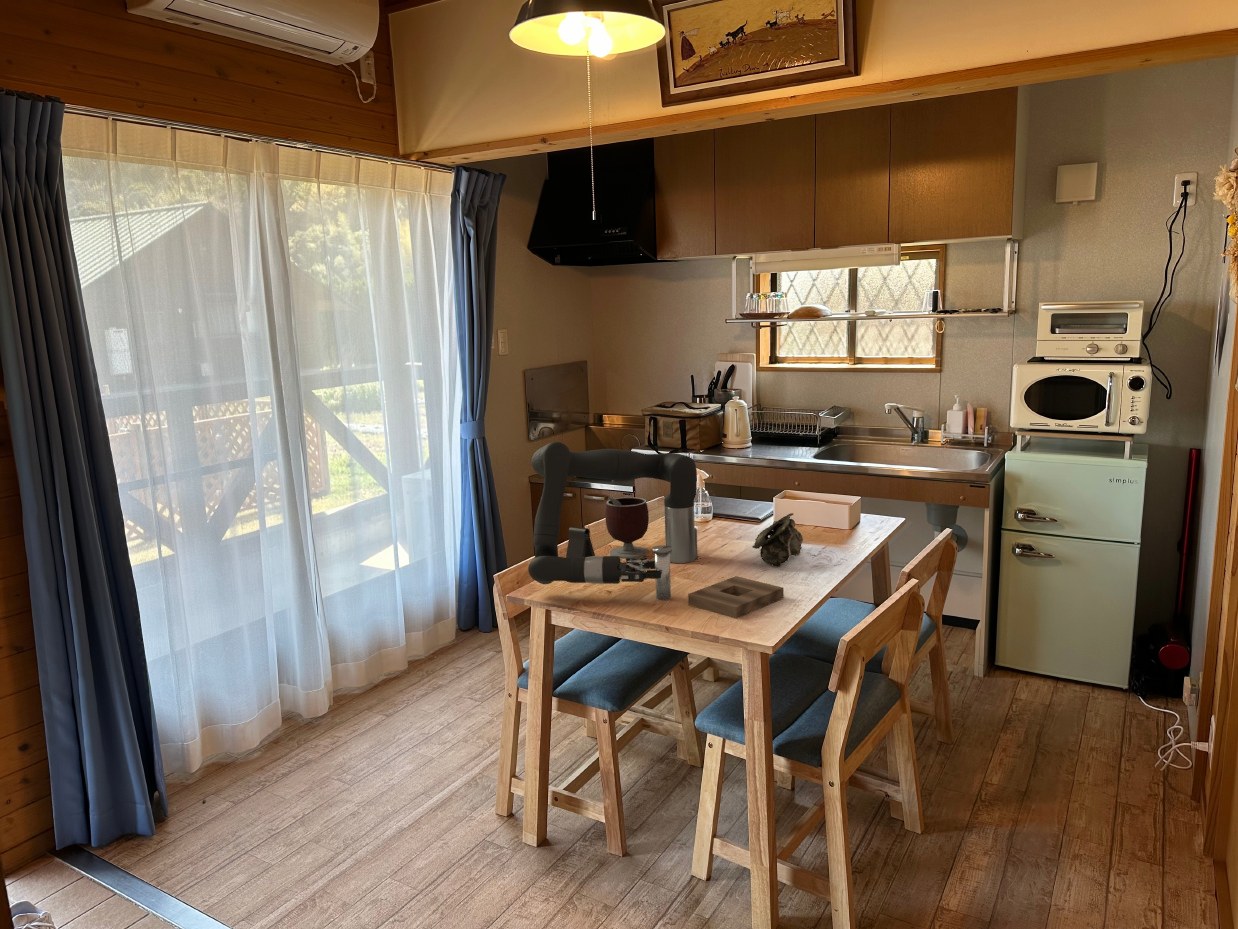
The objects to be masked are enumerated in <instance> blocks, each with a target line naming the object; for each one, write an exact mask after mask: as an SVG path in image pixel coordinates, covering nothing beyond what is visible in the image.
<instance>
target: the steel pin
mask: <svg viewBox="0 0 1238 929" xmlns="http://www.w3.org/2000/svg"><path fill="white" fill-rule="evenodd" d="M651 549H652V553H653V554H654V561H655V569H654V570H661V578H660V579H655V596H656V597H655V599H656V600H659V601H667V600H671V598H672V589H671V588H672V586H671V562H670V553H671V552H672V547H671V546H666V544H664V545H659V544H658V545H655V546H653V547H652V548H651Z"/></svg>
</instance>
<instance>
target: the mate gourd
mask: <svg viewBox="0 0 1238 929" xmlns="http://www.w3.org/2000/svg"><path fill="white" fill-rule="evenodd" d="M607 499H608V500H607V501H606V505H605V511H604V512H605V516H604V517H605V525H606V530H607V532H608V534H609V535H610V536H611V537H612V539H614V540H615V541H618V542H621V543H623V545H622V546H619V547H615V548H611V549H610V550H609V556H619V557H620V559H627V558H643V557H644V556H646V555H647V554H648V549H647V548H645V547H642V546H637V545H635V546H634V544H633V543H634V542H635V541H638V540H640V539H642V538H643V537H644V535H645V534H646V532H648V529H649V522H650V519H649V518H650V517H649V516H650V515H649V508H648V507H649V506H648V504H647V500H646V499H645V498H642V497H636V496H635V497H634V496H633V497H631V496H628V497H627V496H626V497H625V496H624V497H616V498H613V497H607Z"/></svg>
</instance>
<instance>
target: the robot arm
mask: <svg viewBox="0 0 1238 929" xmlns="http://www.w3.org/2000/svg"><path fill="white" fill-rule="evenodd" d="M531 467H532V469H533V471H534V472H535V473H536V474H537V475H539V476H541V477H542V478H544V480H543V489H542V494H541V497H540V500H539V504H538V507H537V510H536V515H535V518H534V527H533V536H532V538H533V539H532V542H533V547H534V558H532V560H531V561H530V562H529V563H528V566H527V568H528V569H527V571H528V574H529V576H530V578H532V580H533V581H536V582H537V583H539V584H541V585H549V584H552V583H553V582H565V583H566V582H567V583H572V584H593V585H594V584H597V585H598V584H599V585H601V584H603V585H604V584H605V585H607V584H609V585H612V584H613V585H615V584H616V585H617V584H620V583H621V582H622V583H624V582H627V583H628V582H629V583H630V582H631V583H642V582H644V581H645V580H647V579H650V580H651V579H653V580H654V579H655V580H656V579H660V578H661V570H655V560H650V559H648V557H637V558H625V561H623V562H622V561H621V558H620V557H619V556H611V555H595V556H591V557H571V558H566V556H565V557H564V556H559V547H558V546H559V539H560V538H559V537H560V528H561V526H560V525H561V515H562V514H561V513H562V506H563V500H564V495H565V490H566V489H565V488H566V484H567V480H568V477H577V478H578V477H579V478H586V479H595V480H607V481H633V480H637V479H641V478H645V479H647V478H648V479H653V480H654V479H655V480H660V481H665V482H668V483H670V486H669V488H670V490H669V493H668V494H667V495H665V496H664V498H663V504H664V506H663V507H664V509H663V510H664V533H665V534H664V535H665V536H664V537H665V538H664V539H665V540H664V541H665V542H664V543H665V545H666V546H671V547H672V552H671V553H670V563H673V564H685V563H691V562H694V561H695V560H696V558H697V559H698V556H699V555H698V529H697V527H696V526H695V524H696V523H695V522H696V521H695V499H696V497H697V488H698V487H697V486H698V485H697V483H698V480H697V479H698V470H697V465H696V461H694V459H693V458H692V457H690V456H688V455H684V454H680V453H677V452H676V453H675V452H668V453H666V452H665V453H643V452H638V451H633V450H628V449H616V448H602V449H601V448H600V449H599V448H598V449H593V450H592V449H591V450H584V451H571V450H570V448H569V447H568V446H567V444H565V443H563V442H561V441H552V442H548V443H547V444H545V445H543V446H542V447H540V448H538V449H537V450H536V451H535V452H534V453H533V454H532V457H531Z"/></svg>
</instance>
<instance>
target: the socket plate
mask: <svg viewBox="0 0 1238 929" xmlns="http://www.w3.org/2000/svg"><path fill="white" fill-rule="evenodd" d="M784 594H785V593H784V587H783V586H778V585H774V584H771V583H765V582H762V581H757V580H753V579H751V578H750V579H749V578H745V577H743V576H742V577H741V576H737V575H735V576H731V577H730V578H728V579H724V580H721V581H719V582H716V583H713V584H711V585H708V586H706V587H703V588H701V589H698V590H695V591H693V592H689V593H688V594H687V595H688V596H687V599H688V603H687V604H688V606H691V607H694V608H698V609H702V610H706V611H709V612H712V613H716V614H719V615H723V616H726V617H729V618H733V619H735V620H736V619H739V618H741V617H744V616H746V615H748V614H750V613H752V612H755V611H758V610H759V609H762V608H764V607H767V606H769V605H772V604H774V603H776V602H779V601H780V600H783V599H784V598H785V597H784Z"/></svg>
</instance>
